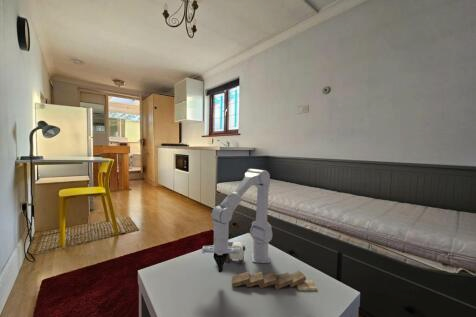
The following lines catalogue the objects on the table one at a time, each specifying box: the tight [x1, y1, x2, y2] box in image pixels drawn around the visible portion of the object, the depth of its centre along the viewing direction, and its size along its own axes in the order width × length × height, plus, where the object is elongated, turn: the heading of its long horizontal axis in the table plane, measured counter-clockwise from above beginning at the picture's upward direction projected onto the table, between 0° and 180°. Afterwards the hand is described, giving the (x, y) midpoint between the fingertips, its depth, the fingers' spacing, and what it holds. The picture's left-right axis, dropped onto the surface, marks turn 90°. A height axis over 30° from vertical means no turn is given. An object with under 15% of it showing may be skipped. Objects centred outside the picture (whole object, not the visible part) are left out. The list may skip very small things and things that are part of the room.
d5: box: [288, 270, 307, 288], centre depth 79 cm, size 4×2×7 cm
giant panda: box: [224, 241, 246, 265], centre depth 94 cm, size 15×6×10 cm, turn 78°
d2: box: [245, 271, 264, 288], centre depth 78 cm, size 4×2×7 cm
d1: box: [231, 271, 251, 288], centre depth 78 cm, size 4×2×7 cm
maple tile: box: [295, 279, 318, 291], centre depth 78 cm, size 4×2×7 cm
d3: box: [258, 272, 277, 289], centre depth 78 cm, size 4×2×7 cm
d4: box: [273, 271, 293, 290], centre depth 78 cm, size 4×2×7 cm
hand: (220, 270), depth 79 cm, fingers closed
